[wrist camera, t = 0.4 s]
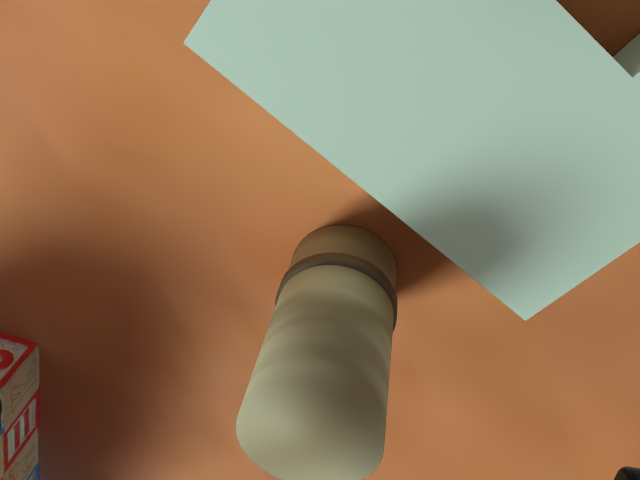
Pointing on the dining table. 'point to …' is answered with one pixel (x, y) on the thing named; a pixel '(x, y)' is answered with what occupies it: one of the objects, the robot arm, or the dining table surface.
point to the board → (457, 123)
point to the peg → (325, 362)
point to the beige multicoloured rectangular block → (19, 409)
